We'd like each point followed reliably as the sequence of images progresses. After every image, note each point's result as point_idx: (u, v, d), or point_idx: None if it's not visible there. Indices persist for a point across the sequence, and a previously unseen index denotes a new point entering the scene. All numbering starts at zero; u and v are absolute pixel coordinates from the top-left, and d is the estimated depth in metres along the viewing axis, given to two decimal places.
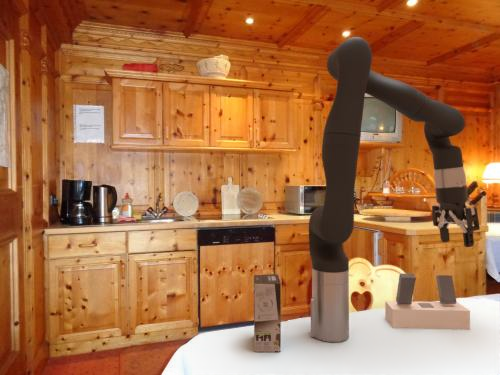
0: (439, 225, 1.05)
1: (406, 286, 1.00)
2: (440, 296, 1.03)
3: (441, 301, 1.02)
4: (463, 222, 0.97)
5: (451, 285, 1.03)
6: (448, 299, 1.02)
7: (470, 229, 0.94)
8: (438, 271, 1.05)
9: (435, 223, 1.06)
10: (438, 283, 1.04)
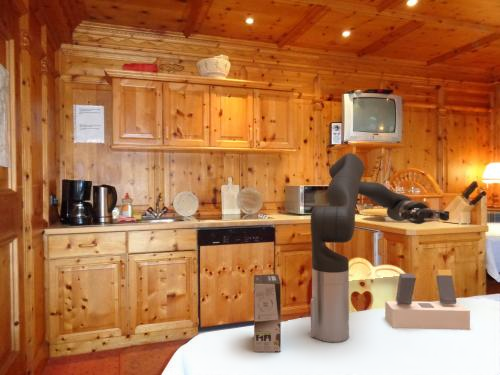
0: None
1: (406, 286, 1.00)
2: (440, 296, 1.03)
3: (441, 301, 1.02)
4: None
5: (451, 285, 1.03)
6: (448, 299, 1.02)
7: None
8: (438, 271, 1.05)
9: (406, 211, 1.19)
10: (438, 283, 1.04)
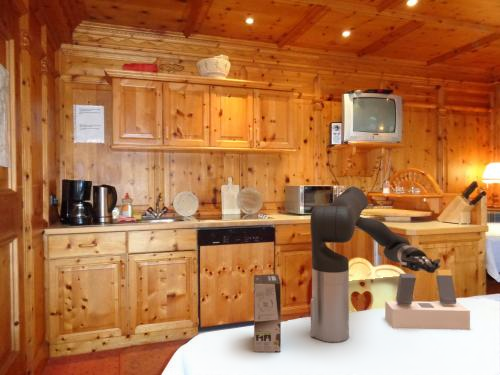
0: (423, 262, 1.18)
1: (406, 286, 1.00)
2: (440, 296, 1.03)
3: (441, 301, 1.02)
4: None
5: (451, 285, 1.03)
6: (448, 299, 1.02)
7: (434, 262, 1.18)
8: (438, 271, 1.05)
9: (417, 261, 1.19)
10: (438, 283, 1.04)
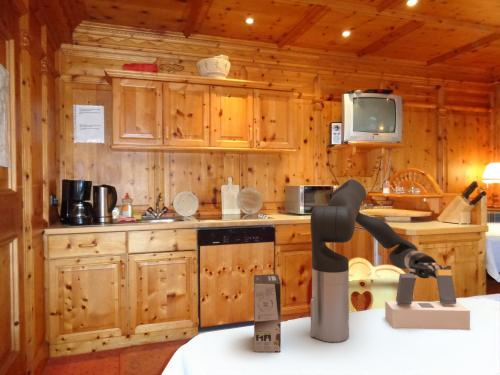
0: (433, 268, 1.10)
1: (406, 286, 1.00)
2: (440, 296, 1.03)
3: (441, 301, 1.02)
4: None
5: (451, 285, 1.03)
6: (448, 299, 1.02)
7: (445, 268, 1.10)
8: (438, 271, 1.05)
9: (427, 268, 1.11)
10: (438, 283, 1.04)
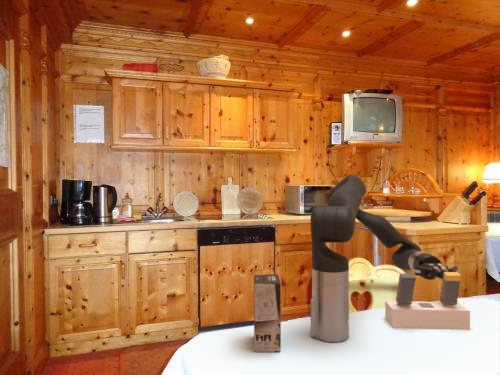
0: (439, 269, 1.06)
1: (406, 286, 1.00)
2: (442, 297, 1.02)
3: (441, 301, 1.02)
4: None
5: (456, 289, 1.00)
6: (449, 302, 1.01)
7: (452, 269, 1.06)
8: (447, 276, 0.99)
9: (433, 269, 1.06)
10: (443, 285, 1.01)
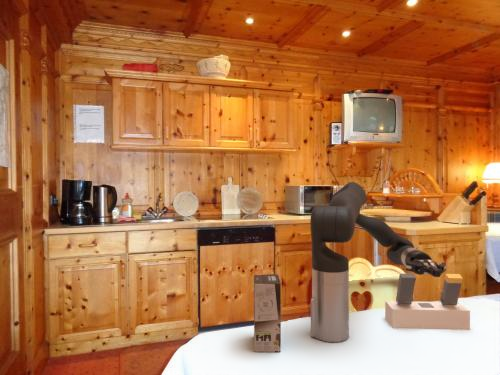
0: (428, 265, 1.14)
1: (406, 286, 1.00)
2: (442, 297, 1.02)
3: (441, 302, 1.02)
4: None
5: (457, 291, 0.99)
6: (449, 302, 1.01)
7: (440, 265, 1.14)
8: (448, 279, 0.98)
9: (422, 265, 1.15)
10: (444, 287, 1.00)
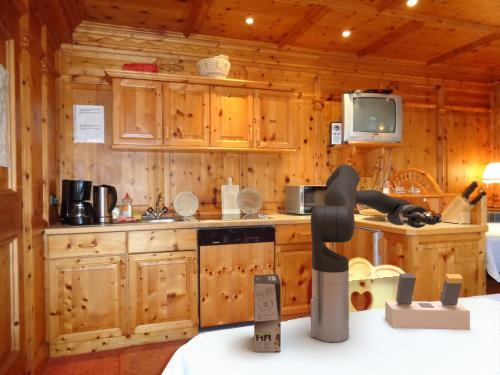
0: (424, 215, 1.18)
1: (406, 286, 1.00)
2: (442, 297, 1.02)
3: (441, 302, 1.02)
4: None
5: (457, 291, 0.99)
6: (449, 302, 1.01)
7: (435, 215, 1.18)
8: (448, 279, 0.98)
9: (418, 216, 1.19)
10: (444, 287, 1.00)
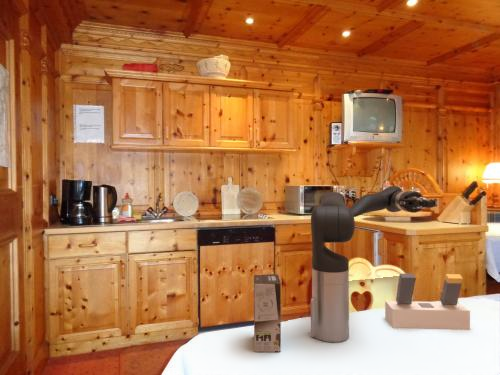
0: (421, 199, 1.21)
1: (406, 286, 1.00)
2: (442, 297, 1.02)
3: (441, 302, 1.02)
4: None
5: (457, 291, 0.99)
6: (449, 302, 1.01)
7: (432, 199, 1.21)
8: (448, 279, 0.98)
9: None
10: (444, 287, 1.00)
